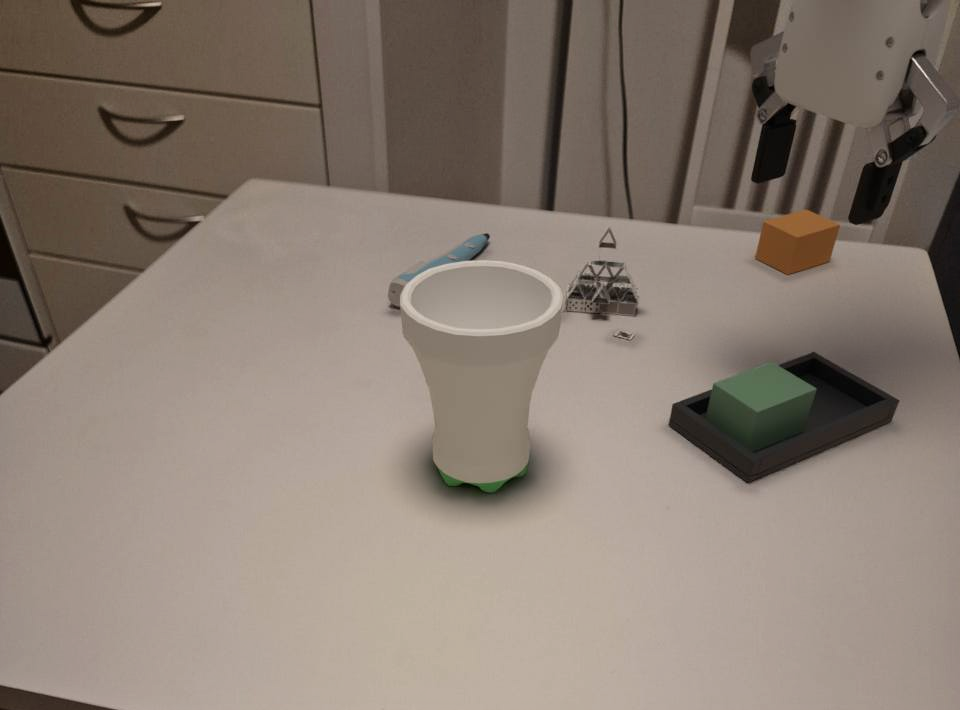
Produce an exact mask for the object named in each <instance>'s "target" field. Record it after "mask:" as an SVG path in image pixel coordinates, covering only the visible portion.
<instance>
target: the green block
mask: <svg viewBox="0 0 960 710" xmlns="http://www.w3.org/2000/svg"><path fill="white" fill-rule="evenodd" d="M778 365H779V364H776V363H775V362H773V361H771V362H767V363H765V364H762V365H760V366H757V367H754V368H751V369H748V370H746V371H743V372H740V373H738V374H734V375H731V376H729V377H726V378H724V379H721V380H718V381H716V382H713V383H712V386H711V387H712V388H711V389H712V392H711V396H710V401H709V405H708V410H707V414H706V420H707V421H708V422H710V423H711V424H713V425H714V426H716V427H717V428H718V429H720V430H721V431H723V432H724V433H726V434H727V435H728V436H730V437H731V438H733V439H734V440H736V441H737V442H739V443H740V444H741V445H743V446H744V447H746V448H747V449H749V450H750V451H751V452H755V451H757V450H760V449H762V448H765V447H767V446H769V445H772V444H774V443H777V442H779V441H781V440H784V439H786V438H789V437H791V436H794V435H796V434H798V433H801V432H803V430H804V427H805V424H806V421H807V418H808V415H809V412H810V409H811V406H812V402H813V399H814V396H815V393H816V390H817V389H816V388H815V387H813V386H811V385H810V384H808V383H806V382H805V381H803V380H801V379H800V378H798V377H796V376H795V375H793V374H791V373H790V372H788V371H786V370H785V369H783V368H781V367H780V366H778Z"/></svg>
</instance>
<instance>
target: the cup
mask: <svg viewBox="0 0 960 710" xmlns="http://www.w3.org/2000/svg"><path fill="white" fill-rule="evenodd" d="M563 304H564V295H563V292H562V288H561V287H560V286H559V285H558V284H557V283H556V282H555V281H554V280H553V279H551V278H550V277H549V276H547V275H545V274H543V273H542V272H540V271H538V270H537V269H534V268H531V267H528V266H525V265H522V264H519V263H514V262H508V261H504V260H490V259H489V260H486V259H483V260H482V259H481V260H480V259H479V260H468V261H462V262H455V263H449V264H444V265H441V266H437V267H433V268H430V269H428V270H426V271H424V272H422V273H420V274H419V275H417V276H416V277H414V278H413V279H412V280H411V281H410V282H409V283H407V284H406V285H405V287H404V289H403V291H402V293H401V295H400V307H399V309H400V319H401V329H402V335H403V338H404V339H405V340H406V342H407V343H408V344H409V346H410V347H411V349H412V350H413V352H414V354H415V356H416V359H417V361H418V363H419V366H420V368H421V371H422V374H423V377H424V380H425V383H426V386H427V388H428V391H429V395H430V396H429V397H430V401H431V407H432V412H433V422H434V431H433V433H432V437H431V438H432V439H431V440H432V461H433V462H434V464H435V466H436V468H437V470H438V472H439V473H440V476H441V477H442V479H443V480H444V483H445V484H447V485H448V486H449V487H451V486H453V487H457V486H460V485H462V484H464V483H465V484H469V485H473V486H477V487H478V488H479V489H480V490H481V491H482V492H485V493H487V494H490V493H496V492H497V491H498V490H499V489H501V488H502V486H503V485H504V484H505V483H507V482H508V481H509V480H511V479H512V478H520V477H523V476H525V474H526V473H527V470H528V467H529V462H530V455H531V454H530V453H531V436H530V430H529V427H528V425H529V416H530V406H531V401H532V396H533V391H534V388H535V386H536V383H537V380H538V377H539V374H540V371H541V369H542V366H543V364H544V361H545V360H546V357H547V355H548V353H549V350H550V349H551V348H552V347H553V345H554V344H555V343H556V341H558V339H559V335H560V330H561V326H562V316H563V315H562V313H563V312H562V309H563Z"/></svg>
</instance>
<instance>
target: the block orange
mask: <svg viewBox="0 0 960 710" xmlns="http://www.w3.org/2000/svg"><path fill="white" fill-rule="evenodd" d="M840 227H841V224H840V223H838V222H836V221H834V220H831V219H829V218H827V217H824V216H822V215H820V214H818V213H815V212H814V211H811V210H808V209H802V210H799V211H796V212H793V213H792V212H791V213H788V214H785V215H781V216H777V217H774V218H770V219H767V220H764V221H763V222H762V227H761V231H760V235H759V239H758V244H757V248H756V252H755V257H754V258H755V259H756V260H758V261H760V262H762V263H763V264H766V265H768V266H769V267H771V268H773V269H775V270H777V271H779V272H781V273H782V274H784V275H787V276H789V275H791V274H794V273H798V272H801V271H804V270H808V269H811V268H814V267H817V266H820V265H823V264H826V263H830V261H831V258H832V255H833V252H834V247H835V244H836V241H837V238H838V235H839V230H840Z"/></svg>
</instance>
